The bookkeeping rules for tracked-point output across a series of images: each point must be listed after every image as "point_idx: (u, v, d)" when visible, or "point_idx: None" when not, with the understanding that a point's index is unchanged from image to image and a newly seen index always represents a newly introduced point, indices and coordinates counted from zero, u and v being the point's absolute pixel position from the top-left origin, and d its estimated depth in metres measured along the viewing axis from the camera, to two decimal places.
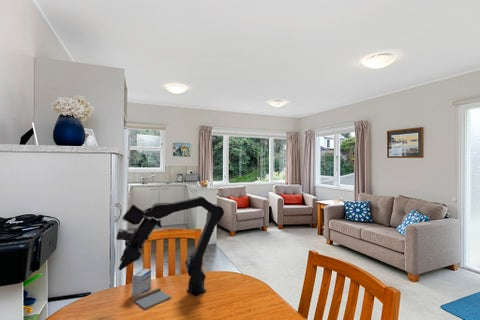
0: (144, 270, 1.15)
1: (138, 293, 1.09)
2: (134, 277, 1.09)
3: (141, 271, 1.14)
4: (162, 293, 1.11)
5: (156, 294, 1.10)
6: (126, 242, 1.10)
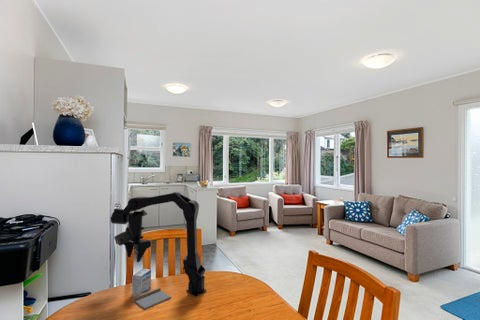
0: (144, 270, 1.15)
1: (138, 293, 1.09)
2: (134, 277, 1.09)
3: (141, 271, 1.14)
4: (162, 293, 1.11)
5: (156, 294, 1.10)
6: None
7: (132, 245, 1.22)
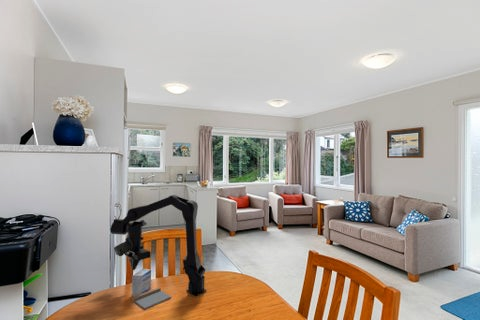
0: (144, 270, 1.15)
1: (138, 293, 1.09)
2: (134, 277, 1.09)
3: (141, 271, 1.14)
4: (162, 293, 1.11)
5: (156, 294, 1.10)
6: (127, 254, 1.17)
7: None
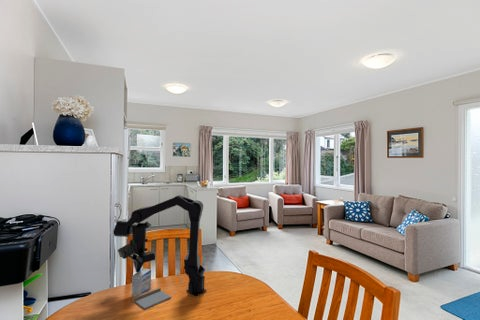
0: (144, 270, 1.15)
1: (138, 293, 1.09)
2: (134, 277, 1.09)
3: (141, 271, 1.14)
4: (162, 293, 1.11)
5: (156, 294, 1.10)
6: (131, 257, 1.15)
7: None
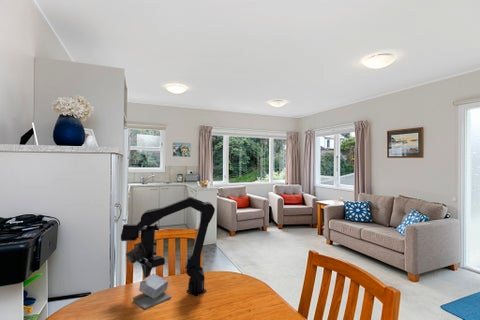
0: (164, 288, 1.11)
1: (141, 289, 1.08)
2: (153, 291, 1.06)
3: (163, 287, 1.10)
4: (162, 293, 1.11)
5: None
6: (139, 261, 1.10)
7: None
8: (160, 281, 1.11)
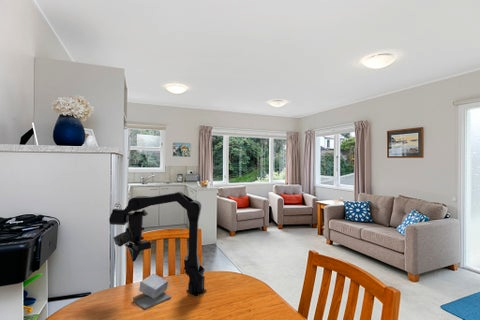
0: (164, 288, 1.11)
1: (141, 289, 1.08)
2: (153, 291, 1.06)
3: (163, 287, 1.10)
4: (162, 293, 1.11)
5: None
6: (127, 245, 1.13)
7: None
8: (160, 281, 1.11)
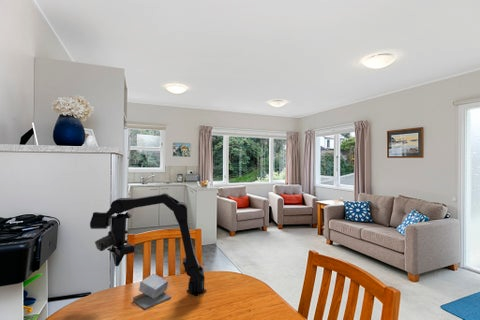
0: (164, 288, 1.11)
1: (141, 289, 1.08)
2: (153, 291, 1.06)
3: (163, 287, 1.10)
4: (162, 293, 1.11)
5: None
6: (110, 249, 1.08)
7: None
8: (160, 281, 1.11)
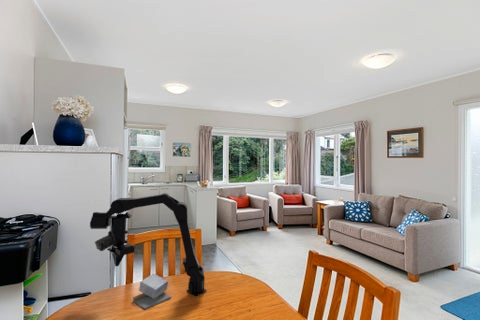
0: (164, 288, 1.11)
1: (141, 289, 1.08)
2: (153, 291, 1.06)
3: (163, 287, 1.10)
4: (162, 293, 1.11)
5: None
6: (110, 249, 1.08)
7: None
8: (160, 281, 1.11)
